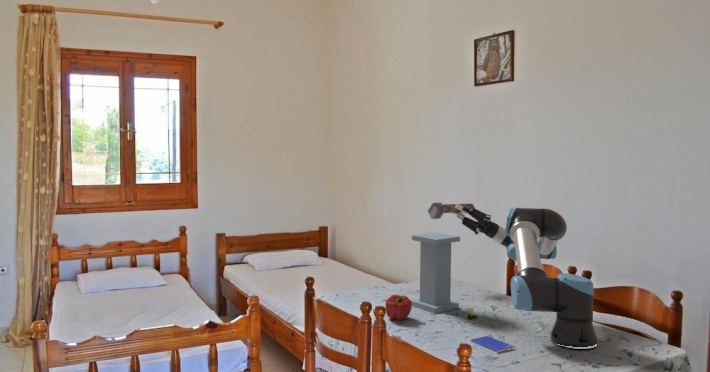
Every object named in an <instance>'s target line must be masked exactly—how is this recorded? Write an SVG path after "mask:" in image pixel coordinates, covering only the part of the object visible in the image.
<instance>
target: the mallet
mask: <svg viewBox="0 0 710 372" xmlns="http://www.w3.org/2000/svg"><path fill="white" fill-rule="evenodd" d="M456 204H457V203H449V204H448V203H447V204H445V203H444V204H443V203H442V202H433V203H431V205H430V206H429V208H428V209H427V214H428V215H429V216H430V218H431V219H432V220H434V219H435V220H436V219H437V220H439V219H441V218H442V217H443V215H444V214H453V213H458V212H461V213H463V212H462V211H460V210H458V209H456V208H455V206H456ZM458 204H459V205H461V206H462V207H466V208H468V209H472V208H475V209H476V207H475V206H474V204H473V203H458Z"/></svg>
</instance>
